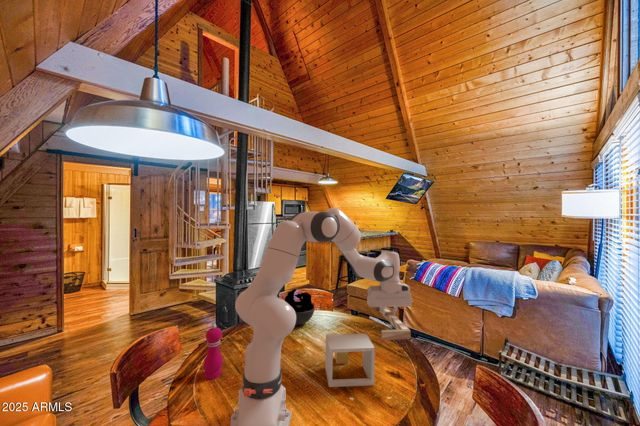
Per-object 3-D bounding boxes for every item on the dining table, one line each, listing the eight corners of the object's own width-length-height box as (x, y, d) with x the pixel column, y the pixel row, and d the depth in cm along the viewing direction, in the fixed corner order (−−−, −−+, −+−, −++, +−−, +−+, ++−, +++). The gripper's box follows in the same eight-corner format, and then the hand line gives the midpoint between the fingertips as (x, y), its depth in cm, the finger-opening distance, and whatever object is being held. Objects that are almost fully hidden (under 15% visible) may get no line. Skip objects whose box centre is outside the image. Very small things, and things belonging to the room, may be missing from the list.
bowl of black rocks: (313, 331, 147) (314, 297, 147) (277, 330, 147) (278, 296, 147) (314, 317, 167) (315, 287, 167) (283, 316, 167) (283, 286, 167)
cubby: (374, 385, 101) (374, 347, 102) (328, 387, 100) (329, 349, 100) (365, 366, 114) (366, 333, 114) (325, 367, 112) (325, 334, 112)
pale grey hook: (413, 338, 101) (413, 330, 102) (382, 340, 100) (382, 332, 100) (383, 307, 137) (383, 301, 137) (359, 308, 135) (359, 302, 136)
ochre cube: (347, 363, 116) (348, 352, 116) (336, 363, 116) (336, 352, 116) (345, 357, 121) (345, 346, 121) (334, 357, 121) (335, 346, 121)
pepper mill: (215, 381, 102) (217, 329, 102) (199, 378, 103) (200, 327, 103) (226, 370, 109) (227, 321, 109) (210, 368, 110) (211, 319, 110)
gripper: (369, 287, 117) (368, 319, 117) (413, 287, 119) (413, 318, 119) (365, 283, 124) (364, 313, 123) (407, 283, 126) (407, 313, 125)
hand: (388, 315), depth 121 cm, fingers closed on pale grey hook, 2 cm apart
